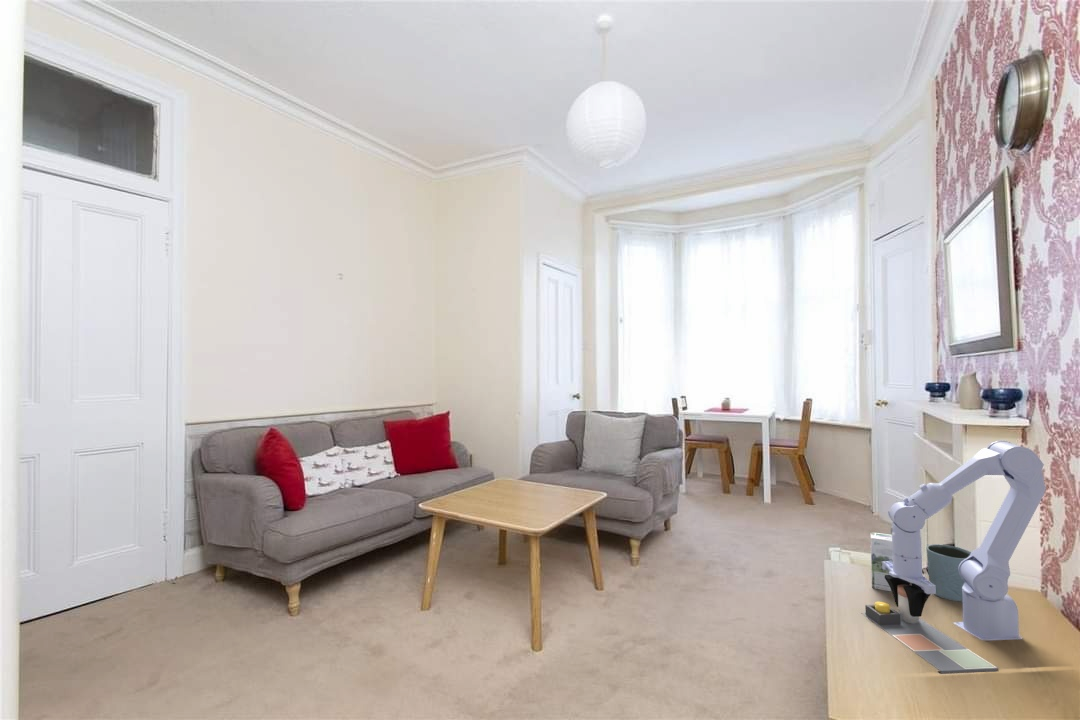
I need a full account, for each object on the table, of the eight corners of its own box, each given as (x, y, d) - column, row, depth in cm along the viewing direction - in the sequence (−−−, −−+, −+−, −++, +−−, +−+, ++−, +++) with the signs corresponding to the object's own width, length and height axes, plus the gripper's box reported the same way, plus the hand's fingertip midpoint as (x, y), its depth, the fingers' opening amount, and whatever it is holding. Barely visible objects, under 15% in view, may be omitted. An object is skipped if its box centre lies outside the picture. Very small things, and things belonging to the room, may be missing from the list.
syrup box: (896, 586, 142) (894, 534, 142) (897, 594, 137) (895, 540, 137) (871, 582, 145) (870, 530, 145) (871, 590, 140) (870, 536, 140)
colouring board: (908, 613, 127) (908, 610, 127) (998, 671, 103) (998, 667, 103) (861, 615, 127) (860, 612, 127) (940, 673, 103) (940, 670, 103)
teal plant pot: (925, 585, 143) (923, 541, 143) (971, 592, 137) (970, 547, 138) (930, 600, 134) (929, 553, 134) (980, 608, 129) (979, 560, 129)
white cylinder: (910, 614, 125) (909, 584, 125) (924, 623, 121) (923, 591, 121) (893, 615, 125) (893, 584, 125) (906, 624, 121) (906, 592, 121)
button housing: (885, 614, 126) (885, 604, 126) (900, 624, 121) (900, 614, 121) (865, 614, 126) (865, 605, 126) (879, 625, 121) (879, 614, 121)
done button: (884, 612, 125) (884, 601, 125) (893, 618, 122) (893, 607, 122) (872, 612, 125) (872, 601, 125) (881, 618, 122) (880, 607, 122)
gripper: (870, 544, 130) (871, 597, 130) (913, 566, 116) (915, 627, 116) (897, 543, 130) (898, 596, 130) (944, 565, 116) (945, 626, 116)
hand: (908, 611), depth 123 cm, fingers closed on white cylinder, 4 cm apart
